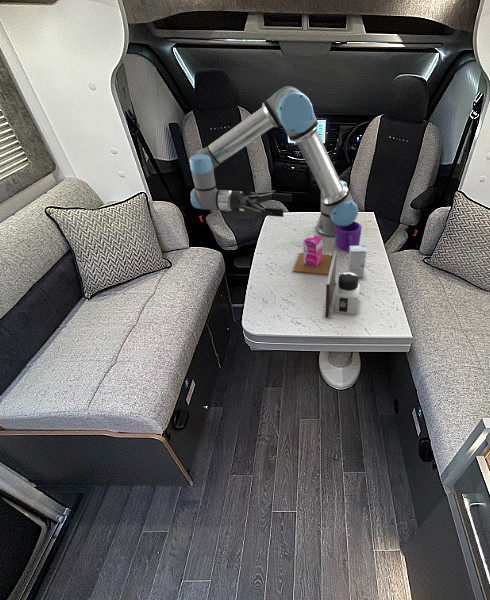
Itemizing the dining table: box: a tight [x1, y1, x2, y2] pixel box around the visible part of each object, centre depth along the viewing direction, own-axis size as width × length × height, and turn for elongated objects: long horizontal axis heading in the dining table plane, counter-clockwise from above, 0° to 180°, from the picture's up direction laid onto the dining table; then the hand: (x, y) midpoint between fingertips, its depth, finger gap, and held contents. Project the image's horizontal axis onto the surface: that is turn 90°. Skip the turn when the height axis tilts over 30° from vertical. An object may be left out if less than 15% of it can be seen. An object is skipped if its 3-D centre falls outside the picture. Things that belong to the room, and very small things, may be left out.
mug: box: [334, 220, 362, 254], centre depth 147 cm, size 17×11×10 cm, turn 3°
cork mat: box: [292, 252, 333, 276], centre depth 141 cm, size 14×14×1 cm
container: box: [333, 272, 361, 315], centre depth 116 cm, size 8×8×13 cm
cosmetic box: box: [347, 245, 367, 279], centre depth 132 cm, size 6×4×12 cm
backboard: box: [324, 251, 338, 319], centre depth 119 cm, size 20×1×14 cm, turn 171°
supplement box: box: [302, 233, 323, 268], centre depth 137 cm, size 6×6×12 cm
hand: (287, 205), depth 127 cm, fingers open, 13 cm apart
